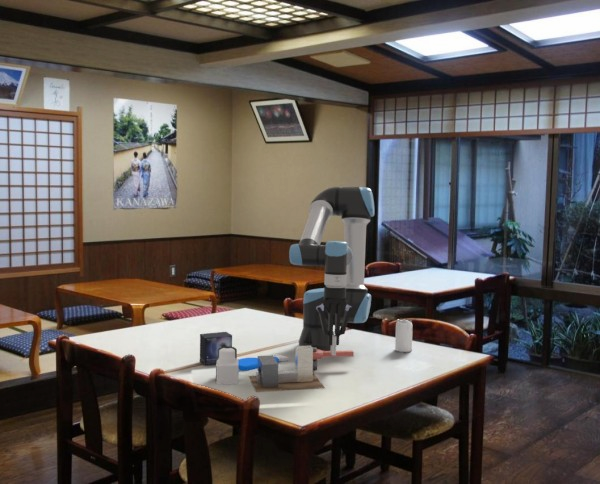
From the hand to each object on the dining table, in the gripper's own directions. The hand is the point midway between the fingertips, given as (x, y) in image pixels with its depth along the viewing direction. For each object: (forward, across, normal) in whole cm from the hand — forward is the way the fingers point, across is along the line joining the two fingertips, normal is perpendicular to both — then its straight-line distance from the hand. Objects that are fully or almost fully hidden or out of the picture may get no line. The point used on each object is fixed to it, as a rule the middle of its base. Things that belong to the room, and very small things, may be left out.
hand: (333, 354), depth 236 cm
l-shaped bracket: (+6, -19, -10) cm, 22 cm away
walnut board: (+7, -18, -10) cm, 22 cm away
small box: (+8, -38, +22) cm, 45 cm away
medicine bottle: (+8, -37, -5) cm, 38 cm away
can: (+5, +36, +28) cm, 45 cm away
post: (+7, -6, +3) cm, 10 cm away
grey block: (+7, -24, -10) cm, 27 cm away
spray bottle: (+8, -23, +16) cm, 29 cm away
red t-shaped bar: (+1, -1, +3) cm, 3 cm away
